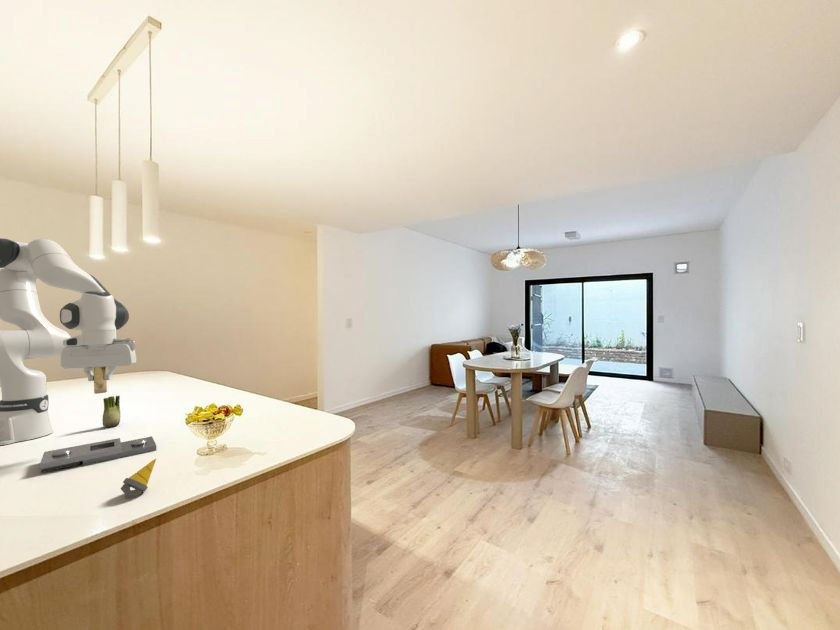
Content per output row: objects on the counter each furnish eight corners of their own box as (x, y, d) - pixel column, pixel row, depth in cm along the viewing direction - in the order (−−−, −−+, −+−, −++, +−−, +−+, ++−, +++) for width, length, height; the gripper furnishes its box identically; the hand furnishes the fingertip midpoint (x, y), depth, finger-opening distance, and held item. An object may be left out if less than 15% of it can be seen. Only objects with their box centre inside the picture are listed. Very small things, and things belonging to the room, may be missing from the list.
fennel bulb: (119, 423, 146) (119, 394, 146) (122, 426, 143) (122, 395, 143) (100, 427, 142) (100, 396, 142) (103, 429, 139) (103, 398, 139)
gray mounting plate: (39, 474, 99) (39, 461, 99) (44, 461, 108) (44, 449, 108) (156, 450, 117) (156, 438, 117) (152, 440, 126) (151, 429, 126)
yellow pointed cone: (116, 497, 88) (148, 457, 94) (138, 505, 88) (167, 465, 95) (110, 492, 84) (143, 451, 90) (132, 500, 84) (164, 459, 91)
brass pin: (91, 393, 120) (91, 363, 120) (98, 392, 123) (97, 362, 123) (103, 393, 120) (102, 363, 120) (109, 391, 124) (108, 362, 124)
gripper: (139, 337, 127) (140, 376, 127) (70, 340, 123) (71, 380, 123) (129, 338, 121) (130, 379, 121) (56, 341, 117) (57, 384, 116)
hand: (100, 380), depth 122 cm, fingers closed on brass pin, 3 cm apart
